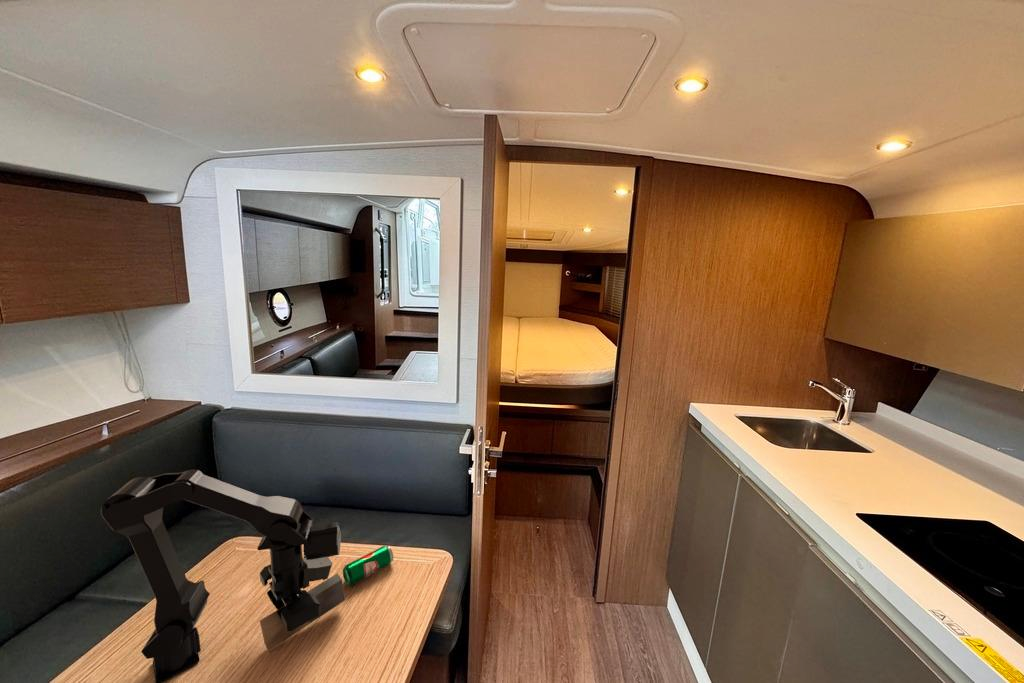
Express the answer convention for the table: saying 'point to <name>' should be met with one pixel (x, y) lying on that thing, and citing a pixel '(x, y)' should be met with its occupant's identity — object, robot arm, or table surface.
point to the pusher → (328, 598)
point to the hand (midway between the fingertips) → (291, 624)
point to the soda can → (367, 565)
